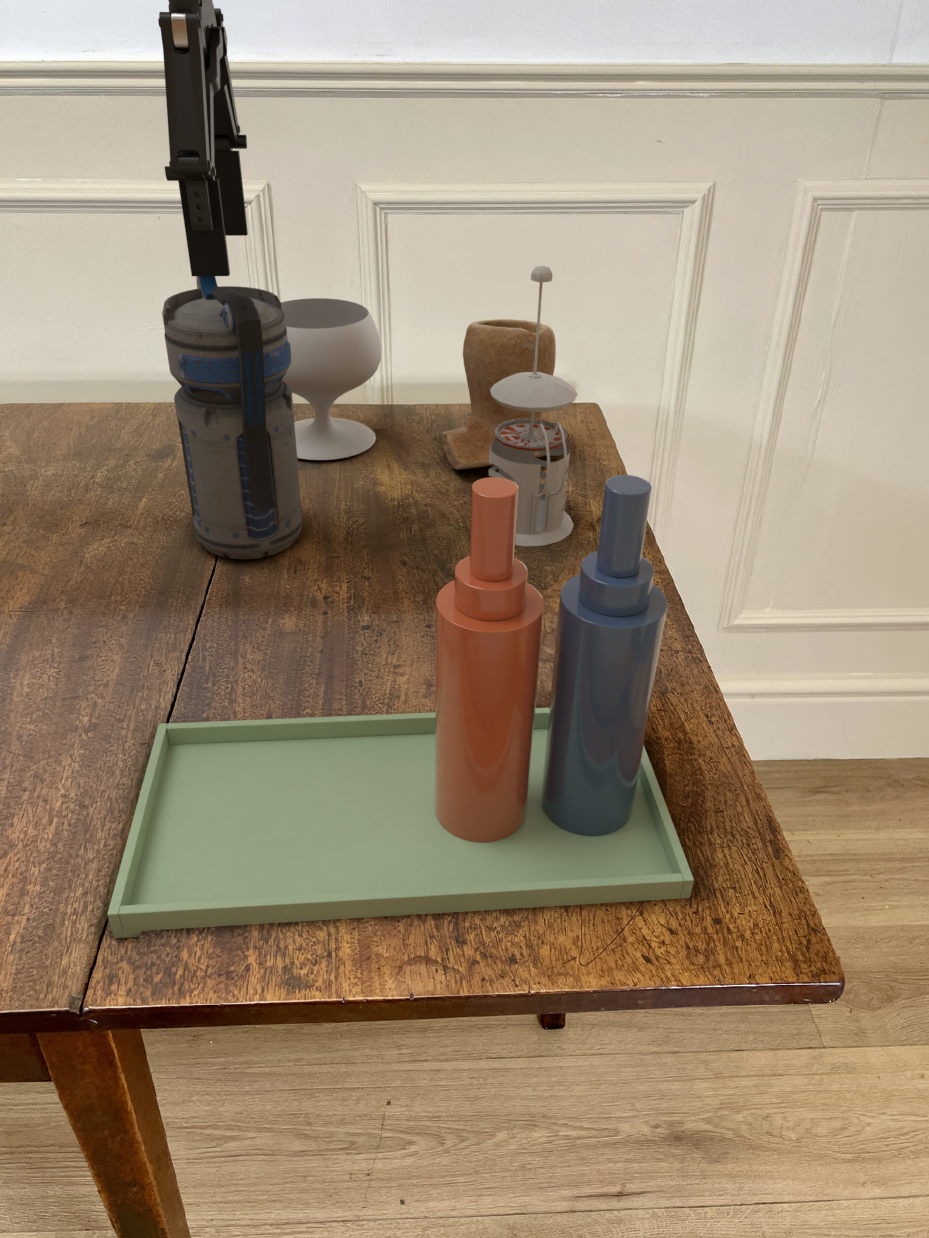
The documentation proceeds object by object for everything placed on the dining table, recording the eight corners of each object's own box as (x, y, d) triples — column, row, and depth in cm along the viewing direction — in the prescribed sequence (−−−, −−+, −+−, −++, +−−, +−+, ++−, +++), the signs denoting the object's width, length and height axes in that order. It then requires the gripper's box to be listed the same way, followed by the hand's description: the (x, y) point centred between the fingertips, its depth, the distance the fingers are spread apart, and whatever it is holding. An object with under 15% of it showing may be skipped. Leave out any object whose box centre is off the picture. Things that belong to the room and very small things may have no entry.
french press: (551, 495, 100) (572, 250, 86) (597, 547, 91) (628, 282, 77) (464, 506, 98) (470, 255, 84) (501, 561, 89) (515, 289, 75)
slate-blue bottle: (548, 839, 59) (583, 512, 46) (534, 772, 64) (561, 461, 51) (642, 834, 60) (702, 509, 47) (620, 768, 65) (669, 459, 52)
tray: (113, 938, 53) (106, 914, 52) (163, 746, 66) (158, 723, 65) (688, 903, 56) (694, 880, 55) (625, 726, 69) (628, 703, 68)
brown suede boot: (529, 425, 116) (537, 301, 108) (579, 462, 108) (592, 331, 99) (416, 443, 111) (415, 315, 103) (459, 484, 102) (462, 347, 94)
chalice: (271, 472, 103) (257, 336, 95) (257, 424, 115) (244, 298, 106) (395, 460, 107) (392, 327, 99) (370, 414, 118) (366, 292, 110)
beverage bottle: (220, 588, 84) (180, 302, 70) (183, 524, 93) (140, 261, 79) (328, 563, 88) (310, 287, 74) (281, 504, 97) (257, 250, 83)
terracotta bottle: (437, 845, 58) (441, 515, 46) (431, 777, 63) (433, 463, 51) (533, 839, 59) (563, 512, 46) (519, 773, 64) (543, 461, 51)
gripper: (215, -84, 54) (255, 295, 66) (255, -66, 74) (280, 221, 86) (79, -88, 53) (144, 296, 65) (158, -68, 74) (196, 221, 86)
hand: (222, 254), depth 76 cm, fingers open, 13 cm apart
